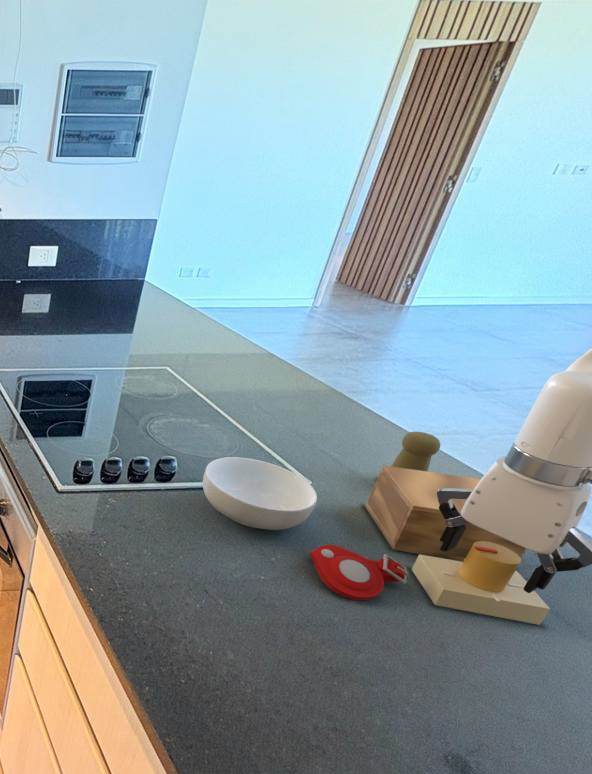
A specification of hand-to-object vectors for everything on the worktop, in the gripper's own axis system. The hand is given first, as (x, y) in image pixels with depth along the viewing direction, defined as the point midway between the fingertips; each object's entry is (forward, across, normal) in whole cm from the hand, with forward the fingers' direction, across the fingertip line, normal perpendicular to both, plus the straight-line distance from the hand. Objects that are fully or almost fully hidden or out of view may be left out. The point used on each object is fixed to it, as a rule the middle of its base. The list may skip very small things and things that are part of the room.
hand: (487, 567), depth 88 cm
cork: (+5, +20, -23) cm, 32 cm away
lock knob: (+2, 0, 0) cm, 2 cm away
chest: (+5, +10, -11) cm, 16 cm away
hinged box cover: (-3, +10, -12) cm, 15 cm away
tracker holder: (+6, +9, +12) cm, 16 cm away
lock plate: (+5, 0, 0) cm, 5 cm away
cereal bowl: (+6, +28, +10) cm, 30 cm away
